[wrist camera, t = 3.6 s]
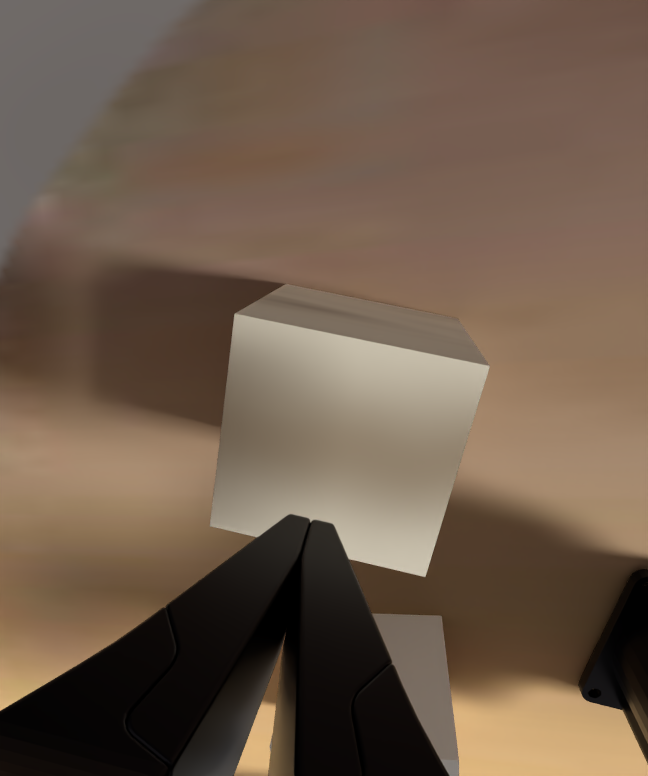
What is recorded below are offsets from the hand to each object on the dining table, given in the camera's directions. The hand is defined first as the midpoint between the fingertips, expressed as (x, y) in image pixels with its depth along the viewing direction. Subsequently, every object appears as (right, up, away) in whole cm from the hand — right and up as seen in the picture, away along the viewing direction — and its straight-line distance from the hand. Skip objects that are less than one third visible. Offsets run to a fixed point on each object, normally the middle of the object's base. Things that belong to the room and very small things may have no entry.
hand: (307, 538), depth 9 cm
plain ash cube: (+1, +3, +9) cm, 10 cm away
